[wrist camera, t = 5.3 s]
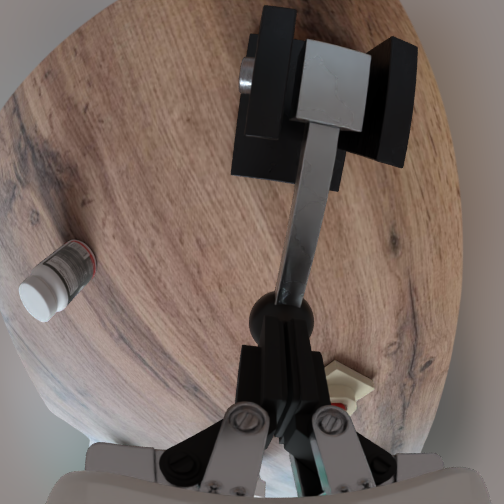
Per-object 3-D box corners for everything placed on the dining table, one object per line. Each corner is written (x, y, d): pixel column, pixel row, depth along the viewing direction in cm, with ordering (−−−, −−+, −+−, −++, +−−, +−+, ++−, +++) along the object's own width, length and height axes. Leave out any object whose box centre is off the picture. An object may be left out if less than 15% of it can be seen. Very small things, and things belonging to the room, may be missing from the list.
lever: (302, 327, 14) (307, 369, 12) (247, 321, 14) (243, 363, 12) (358, 72, 9) (387, 57, 6) (287, 55, 9) (293, 32, 6)
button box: (334, 359, 28) (340, 382, 25) (372, 380, 30) (379, 400, 27) (277, 398, 32) (277, 420, 29) (318, 414, 34) (320, 434, 31)
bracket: (334, 188, 20) (411, 267, 9) (232, 172, 20) (185, 235, 9) (355, 57, 15) (448, -2, 4) (250, 38, 15) (229, -61, 4)
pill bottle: (74, 280, 26) (32, 325, 18) (58, 242, 24) (9, 281, 16) (104, 276, 25) (61, 327, 17) (88, 234, 23) (35, 277, 15)
